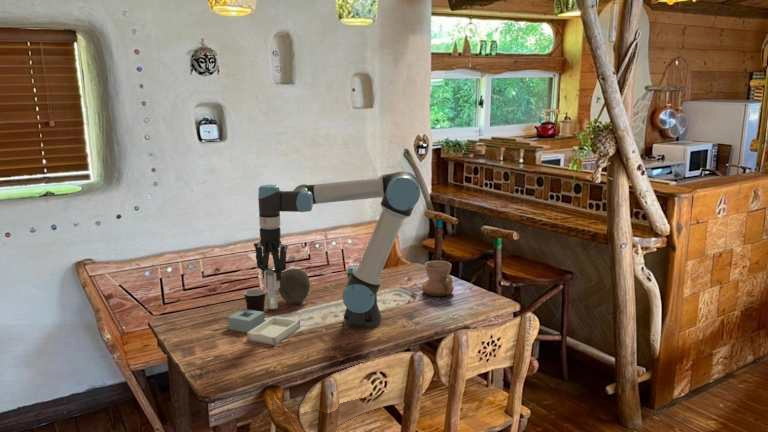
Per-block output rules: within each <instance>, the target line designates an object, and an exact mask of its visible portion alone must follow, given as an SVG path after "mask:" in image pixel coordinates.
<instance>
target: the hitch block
mask: <svg viewBox="0 0 768 432" xmlns="http://www.w3.org/2000/svg"><path fill="white" fill-rule="evenodd" d="M265 319H266V318H265V311H264V312H261V311H255V310H249V309H247V308H242V309H239V310H238V311H237V312H235V313H233V314H231V315H228V317H227V322H228V323H227V325H228V328H227V329H228V330H231V331H236V332H240V333H241V332H242V333H247V332H249V331H250V330H252V329H254V328H255V327H257V326H259V325H260V324H262V323H263V322H265V321H266V320H265Z"/></svg>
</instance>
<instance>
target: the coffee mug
mask: <svg viewBox="0 0 768 432" xmlns="http://www.w3.org/2000/svg"><path fill="white" fill-rule="evenodd" d="M266 293H267V291H266V290H264V289H263V288H262V289H261V288H252V289H251V288H250V289H248V290H245V291H244V292H243V294H244V302H245V306H246V309H249V310H255V311H261V312H264V313H265V306H266V305H265V303H266Z"/></svg>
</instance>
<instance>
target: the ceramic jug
mask: <svg viewBox="0 0 768 432" xmlns="http://www.w3.org/2000/svg"><path fill="white" fill-rule="evenodd" d="M424 268H425V269H424V270H425V272H426V276H427V278H428V279H427V280H425V281H424V282H422V285H421V289H422V291H423V293H425V294H426V295H428V296H431V295H432V297H445V295H446V296H449V295H450V294H452V293H453V291H454V289H455V287H454V285H453V276H452V275H450V273H451V271H452V263H450V262H449V261H444V260H430V261H426V262H425V263H424Z"/></svg>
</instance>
